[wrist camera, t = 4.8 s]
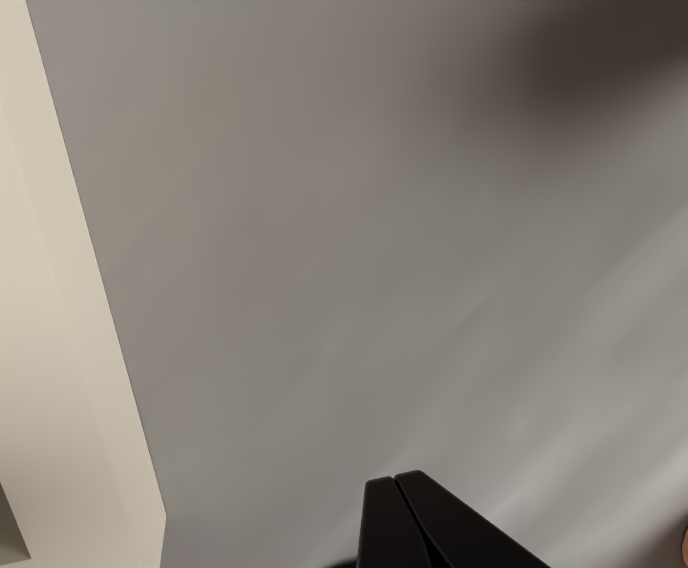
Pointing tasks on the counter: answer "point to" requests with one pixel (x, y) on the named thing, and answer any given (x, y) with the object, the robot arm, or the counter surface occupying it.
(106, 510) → the knob panel
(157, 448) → the counter surface
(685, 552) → the salt shaker
